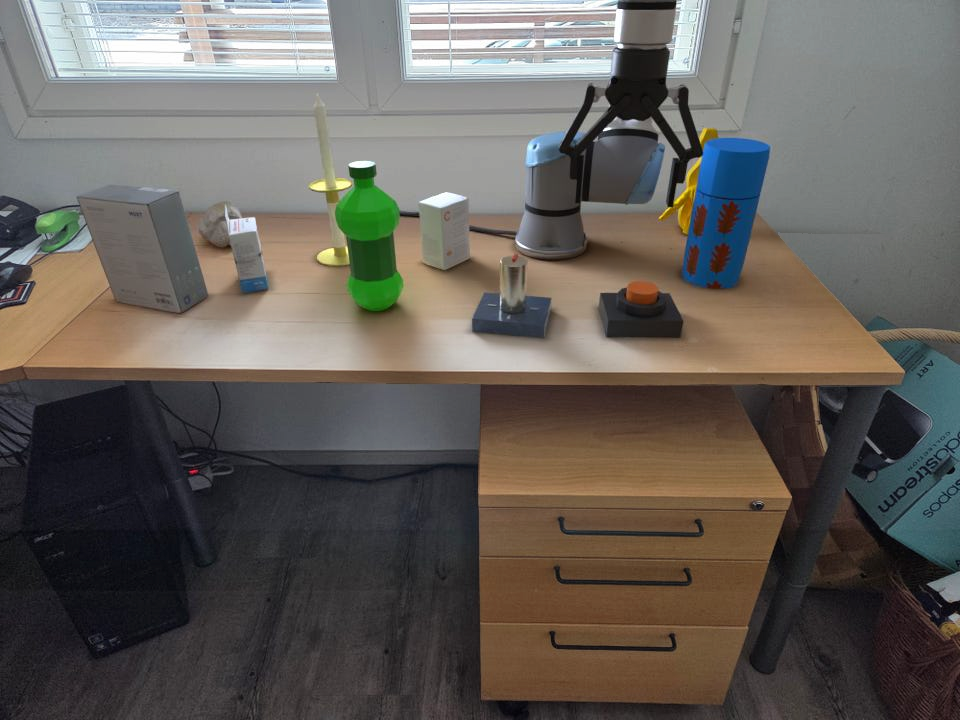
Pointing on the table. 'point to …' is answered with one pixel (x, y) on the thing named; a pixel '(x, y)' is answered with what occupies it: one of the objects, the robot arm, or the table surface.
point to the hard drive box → (144, 246)
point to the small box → (445, 230)
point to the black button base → (639, 316)
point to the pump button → (642, 292)
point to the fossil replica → (218, 223)
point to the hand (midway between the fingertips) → (623, 202)
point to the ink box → (247, 253)
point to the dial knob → (513, 284)
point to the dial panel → (512, 317)
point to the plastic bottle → (370, 239)
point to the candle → (329, 191)
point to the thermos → (724, 211)
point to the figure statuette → (689, 187)
